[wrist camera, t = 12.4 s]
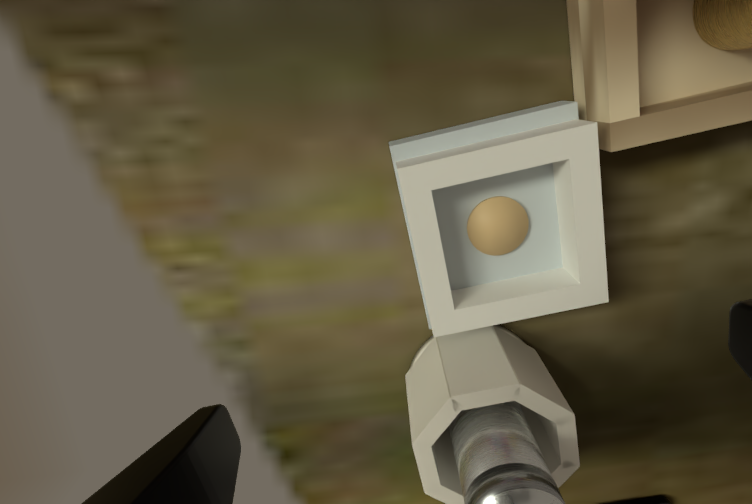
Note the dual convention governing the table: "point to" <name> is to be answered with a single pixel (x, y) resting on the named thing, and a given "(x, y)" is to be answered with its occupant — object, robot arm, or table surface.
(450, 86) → the table surface
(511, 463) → the cylinder
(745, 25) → the brass cell
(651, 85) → the trough
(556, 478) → the white octagonal prism
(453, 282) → the cradle
